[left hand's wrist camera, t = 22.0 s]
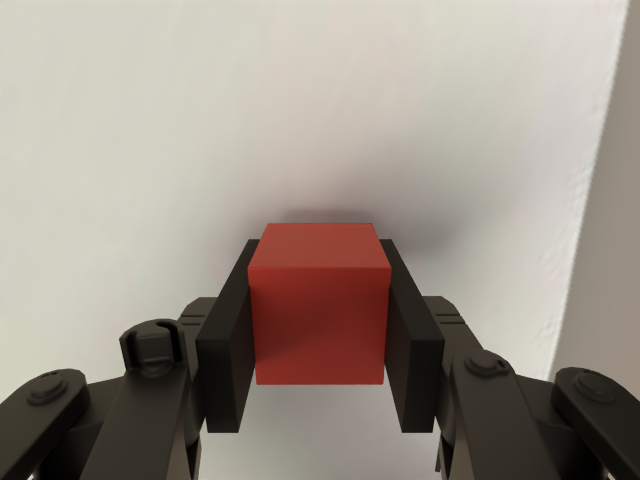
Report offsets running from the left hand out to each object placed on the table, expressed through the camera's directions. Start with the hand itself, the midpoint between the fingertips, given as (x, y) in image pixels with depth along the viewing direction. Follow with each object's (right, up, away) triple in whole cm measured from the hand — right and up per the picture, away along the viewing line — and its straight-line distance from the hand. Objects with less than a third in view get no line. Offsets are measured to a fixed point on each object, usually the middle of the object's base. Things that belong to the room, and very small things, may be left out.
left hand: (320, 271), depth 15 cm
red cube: (0, 0, 0) cm, 0 cm away
